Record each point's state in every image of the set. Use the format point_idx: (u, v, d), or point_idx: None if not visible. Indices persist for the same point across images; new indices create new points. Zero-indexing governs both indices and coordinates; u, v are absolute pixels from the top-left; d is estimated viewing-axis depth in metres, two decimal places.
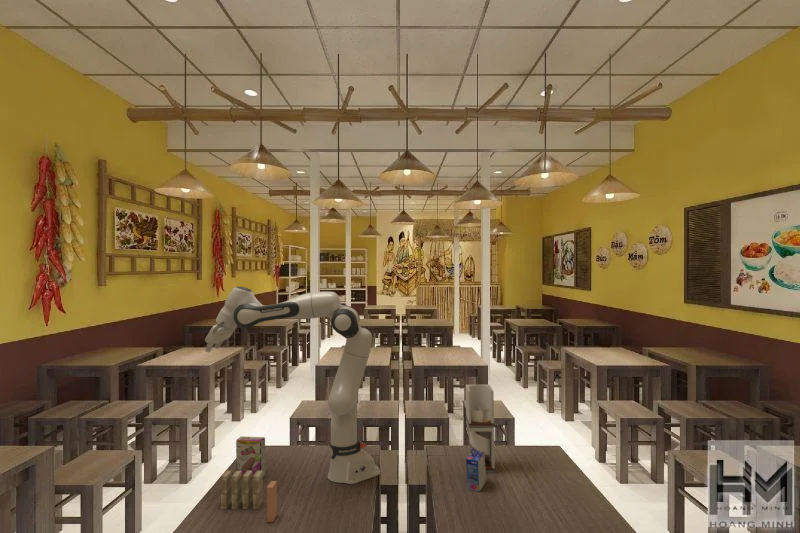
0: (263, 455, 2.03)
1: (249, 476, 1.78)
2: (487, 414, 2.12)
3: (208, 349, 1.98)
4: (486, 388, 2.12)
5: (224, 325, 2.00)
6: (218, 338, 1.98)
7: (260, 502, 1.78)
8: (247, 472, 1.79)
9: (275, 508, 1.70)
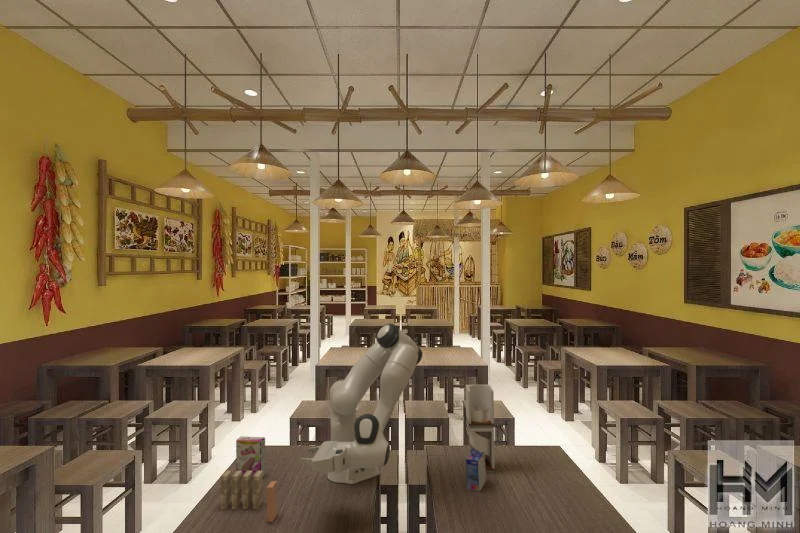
0: (263, 455, 2.03)
1: (249, 476, 1.78)
2: (487, 414, 2.12)
3: None
4: (486, 388, 2.12)
5: None
6: (327, 444, 1.74)
7: (260, 502, 1.78)
8: (247, 472, 1.79)
9: (275, 508, 1.70)
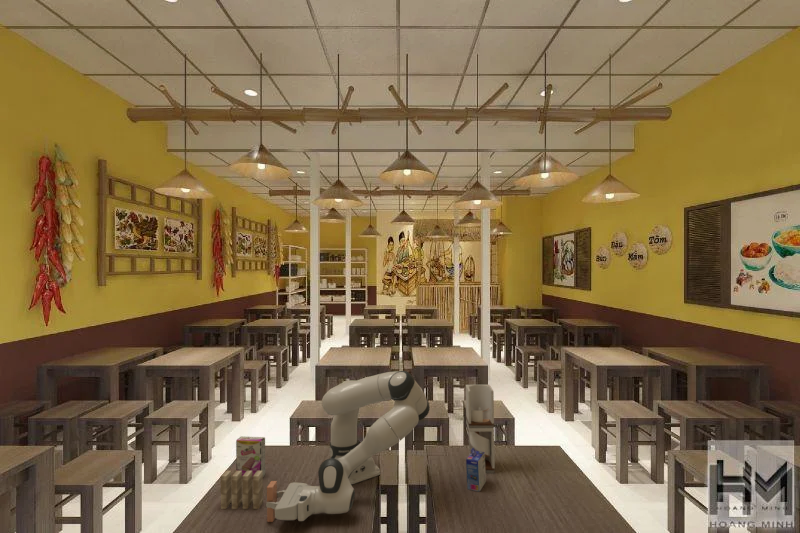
0: (263, 455, 2.03)
1: (249, 476, 1.78)
2: (487, 414, 2.12)
3: None
4: (486, 388, 2.12)
5: None
6: (293, 487, 1.74)
7: (260, 502, 1.78)
8: (247, 472, 1.79)
9: None
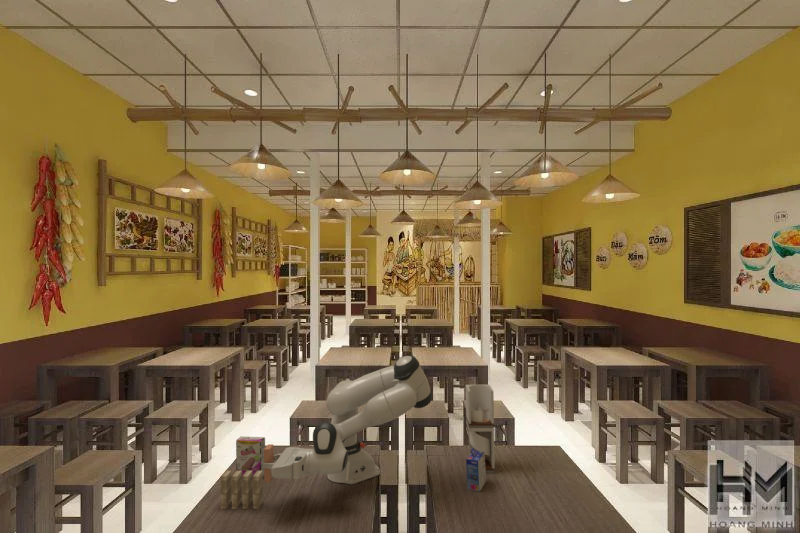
0: (263, 455, 2.03)
1: (249, 476, 1.78)
2: (487, 414, 2.12)
3: None
4: (486, 388, 2.12)
5: None
6: (289, 450, 1.82)
7: (260, 502, 1.78)
8: (247, 472, 1.79)
9: None
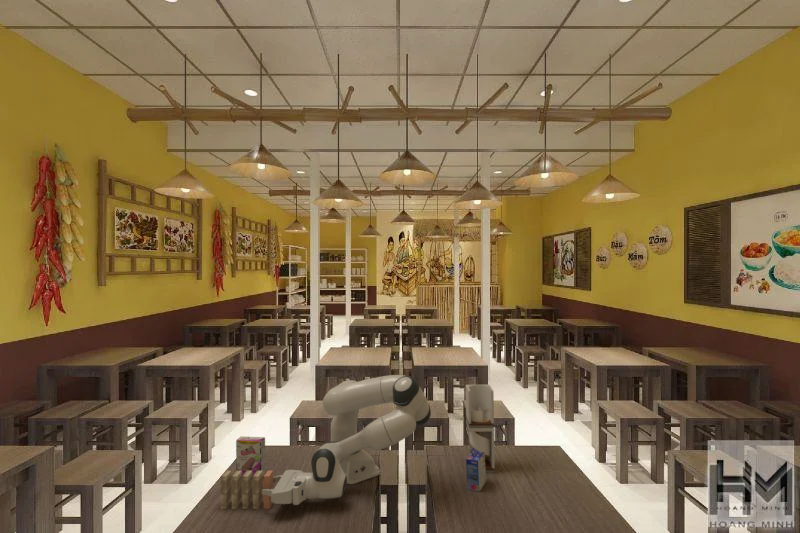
0: (263, 455, 2.03)
1: (249, 476, 1.78)
2: (487, 414, 2.12)
3: None
4: (486, 388, 2.12)
5: None
6: (289, 474, 1.84)
7: (260, 502, 1.78)
8: (247, 472, 1.79)
9: None
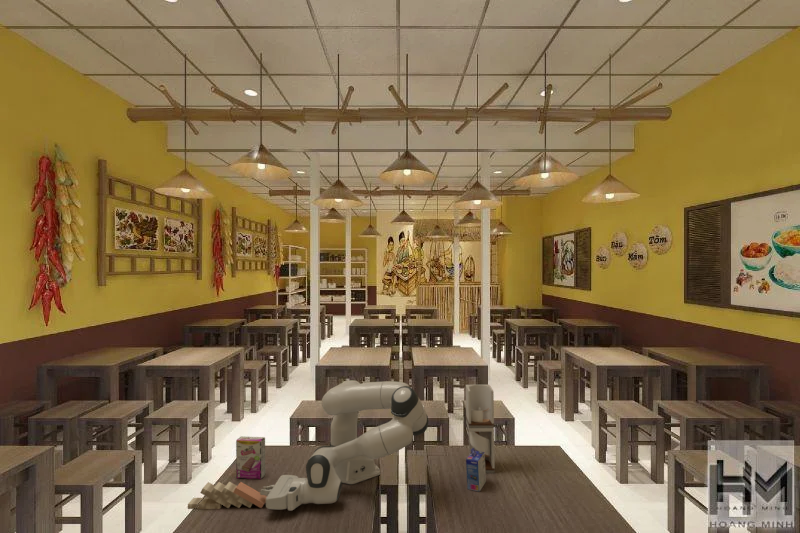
0: (263, 455, 2.03)
1: (217, 486, 1.78)
2: (487, 414, 2.12)
3: None
4: (486, 388, 2.12)
5: None
6: (284, 479, 1.84)
7: None
8: (215, 486, 1.79)
9: (259, 495, 1.79)
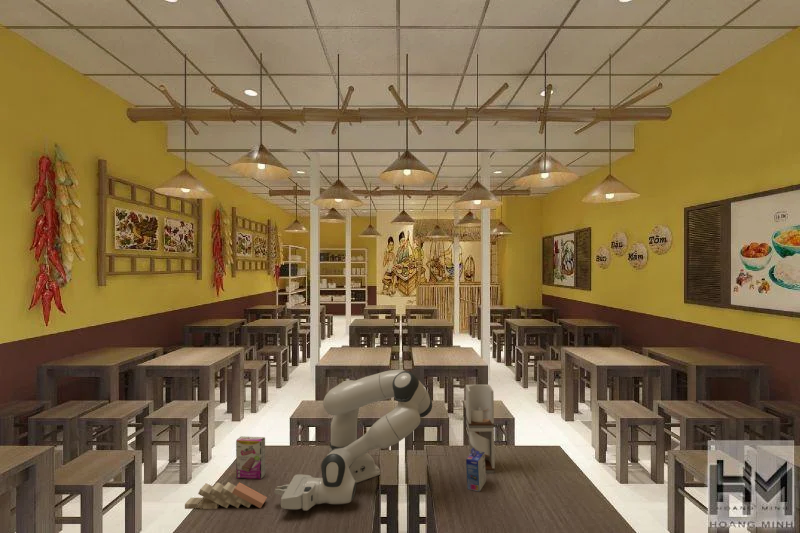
0: (263, 455, 2.03)
1: (216, 486, 1.79)
2: (487, 414, 2.12)
3: None
4: (486, 388, 2.12)
5: None
6: (298, 479, 1.84)
7: None
8: None
9: (258, 495, 1.79)
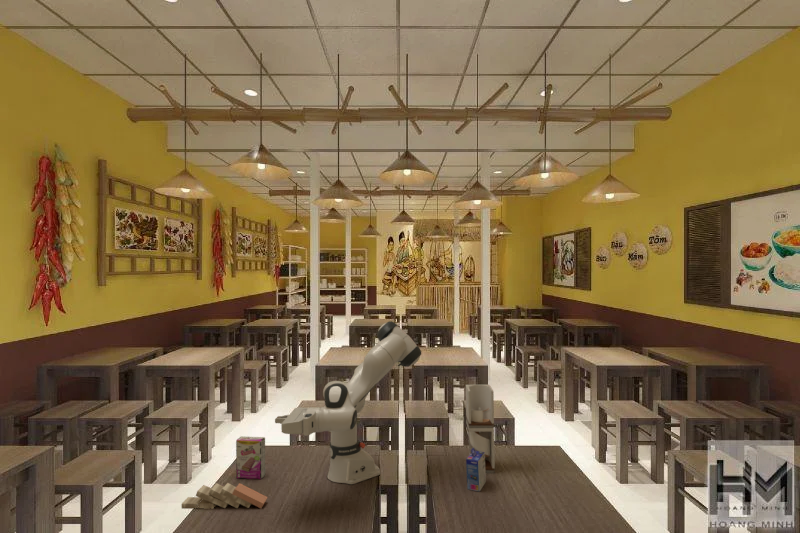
0: (263, 455, 2.03)
1: (215, 487, 1.79)
2: (487, 414, 2.12)
3: None
4: (486, 388, 2.12)
5: None
6: (298, 410, 1.84)
7: None
8: None
9: (258, 495, 1.79)
